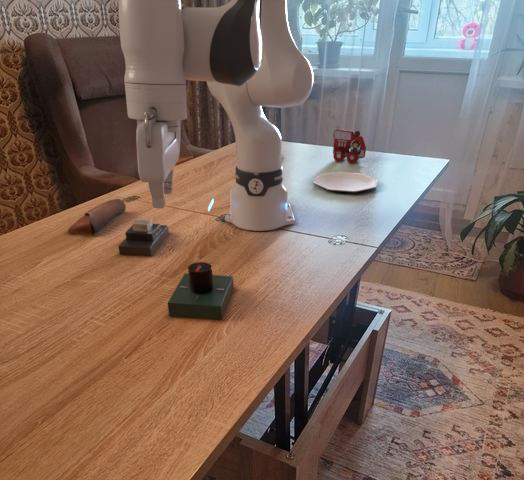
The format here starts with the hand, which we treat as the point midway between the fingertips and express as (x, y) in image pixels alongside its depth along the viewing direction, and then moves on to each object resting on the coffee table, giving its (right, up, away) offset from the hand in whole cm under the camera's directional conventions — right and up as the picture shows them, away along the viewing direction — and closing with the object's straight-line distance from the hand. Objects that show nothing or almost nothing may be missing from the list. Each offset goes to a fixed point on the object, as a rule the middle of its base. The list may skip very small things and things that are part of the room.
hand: (163, 199), depth 79 cm
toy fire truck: (+48, +46, +100) cm, 120 cm away
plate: (+43, +28, +76) cm, 91 cm away
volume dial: (+5, -13, +13) cm, 19 cm away
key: (-12, +4, +36) cm, 38 cm away
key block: (-12, +1, +38) cm, 40 cm away
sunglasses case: (-28, +9, +50) cm, 57 cm away
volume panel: (+5, -15, +15) cm, 22 cm away
